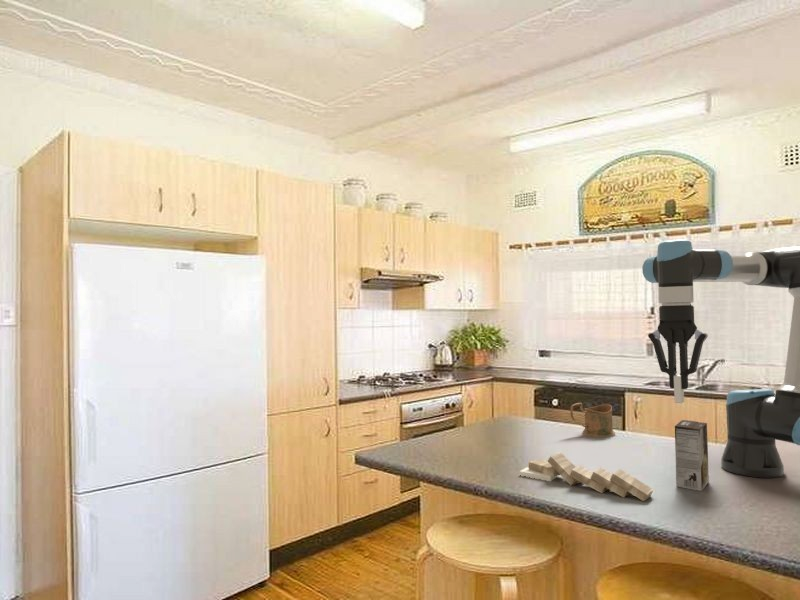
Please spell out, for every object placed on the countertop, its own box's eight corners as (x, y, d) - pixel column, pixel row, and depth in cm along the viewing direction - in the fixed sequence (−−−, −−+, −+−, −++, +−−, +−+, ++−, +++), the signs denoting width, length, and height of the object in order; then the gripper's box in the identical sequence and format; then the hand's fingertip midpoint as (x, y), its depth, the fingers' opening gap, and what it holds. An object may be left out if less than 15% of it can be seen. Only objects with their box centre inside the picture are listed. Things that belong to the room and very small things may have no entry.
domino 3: (585, 476, 148) (561, 452, 154) (574, 480, 145) (550, 456, 151) (581, 481, 149) (558, 458, 155) (571, 485, 146) (547, 461, 152)
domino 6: (653, 489, 136) (619, 468, 142) (647, 494, 133) (612, 473, 138) (650, 496, 137) (616, 475, 142) (644, 501, 133) (609, 480, 139)
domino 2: (556, 472, 154) (527, 467, 159) (550, 476, 150) (519, 471, 155) (557, 479, 154) (527, 474, 159) (550, 483, 150) (519, 478, 155)
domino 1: (565, 466, 153) (540, 459, 160) (553, 469, 150) (528, 461, 157) (565, 473, 153) (540, 466, 160) (553, 476, 150) (528, 468, 157)
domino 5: (633, 485, 140) (600, 467, 145) (626, 491, 136) (593, 471, 141) (630, 492, 140) (597, 473, 146) (624, 497, 136) (590, 478, 142)
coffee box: (683, 478, 151) (681, 419, 151) (709, 482, 147) (707, 422, 147) (675, 486, 144) (673, 425, 144) (702, 491, 140) (700, 428, 140)
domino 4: (611, 481, 143) (579, 465, 149) (604, 486, 139) (571, 469, 145) (609, 488, 144) (577, 471, 149) (602, 493, 140) (569, 476, 145)
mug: (562, 433, 207) (561, 401, 207) (601, 429, 212) (601, 398, 212) (581, 440, 196) (580, 406, 196) (622, 435, 201) (621, 403, 201)
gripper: (709, 303, 131) (713, 402, 130) (652, 304, 139) (655, 397, 139) (702, 304, 125) (706, 407, 125) (643, 305, 133) (646, 402, 133)
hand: (679, 402), depth 132 cm, fingers closed
